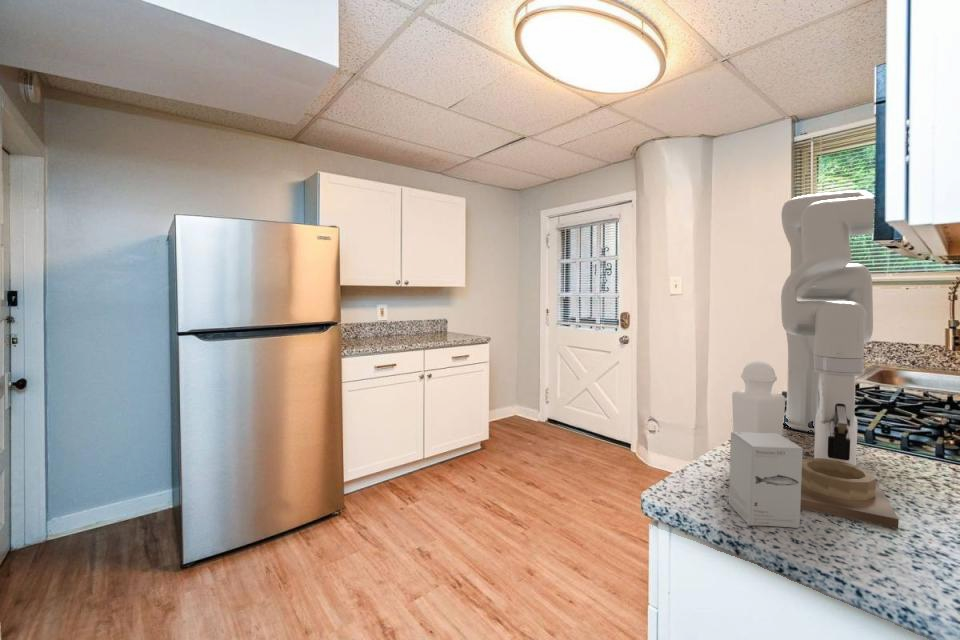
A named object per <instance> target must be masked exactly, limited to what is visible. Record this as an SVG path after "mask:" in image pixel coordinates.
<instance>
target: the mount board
mask: <svg viewBox="0 0 960 640" xmlns="http://www.w3.org/2000/svg"><path fill="white" fill-rule="evenodd" d="M800 510H808V511H811V512H817V513H820V514H821V513H823V514H825V515H831V516H835V517H841V518H844V519H850V520H853V521H855V520H856V521H859V522H860V521H861V522H864V523H868V524H873V525H878V526H882V527H888V528H892V529H893V528H894V529H897V530H898V529H899V526H900V525H899V522H900V520H899V517H898V516H897V514H896V512H895V510H894V508H893V507H892V505H891V503H890V501H888V498H887V497H886V495H885V493H884V492H883V490H882V488H881V486H880V485H879V483H878V482H877V477H875V475H874V473H873V472H872V471H869V470H867V469H865V468H863V467H861V466H859V465H857V464H856V465H852V464H849V463H845V462H842V461H836V460H829V459H823V458H814V457H813V458H812V457H808V458H806V457H805V458H804V459H803V458H802V479H801V504H800Z"/></svg>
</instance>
